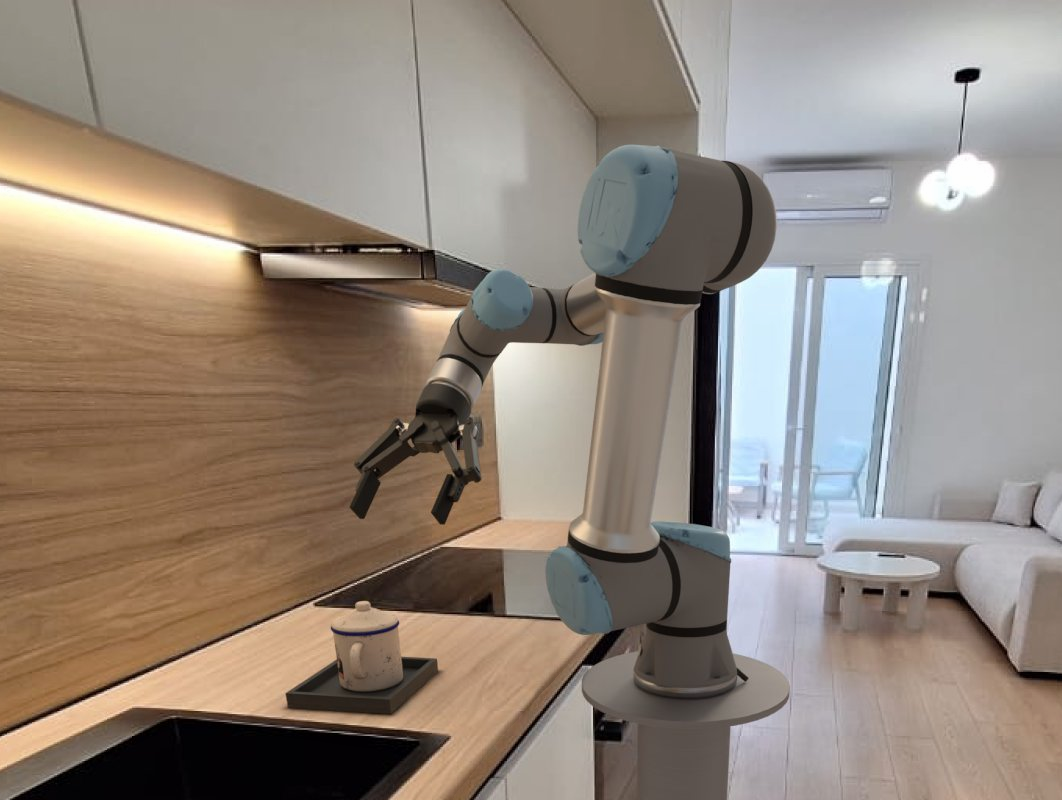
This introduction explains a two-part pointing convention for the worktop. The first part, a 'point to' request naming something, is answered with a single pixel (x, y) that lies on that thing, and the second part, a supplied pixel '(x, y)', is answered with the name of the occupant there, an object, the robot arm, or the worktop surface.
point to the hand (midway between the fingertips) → (396, 516)
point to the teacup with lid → (367, 649)
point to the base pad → (330, 695)
